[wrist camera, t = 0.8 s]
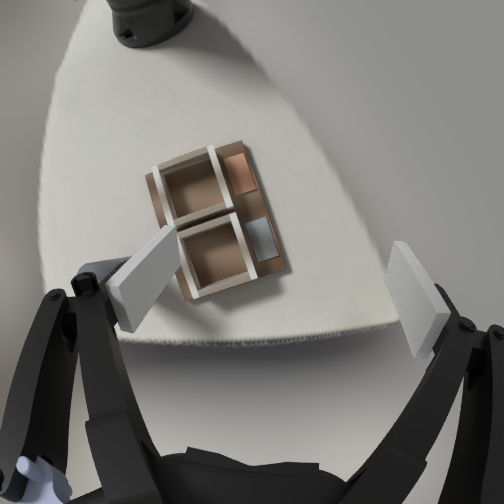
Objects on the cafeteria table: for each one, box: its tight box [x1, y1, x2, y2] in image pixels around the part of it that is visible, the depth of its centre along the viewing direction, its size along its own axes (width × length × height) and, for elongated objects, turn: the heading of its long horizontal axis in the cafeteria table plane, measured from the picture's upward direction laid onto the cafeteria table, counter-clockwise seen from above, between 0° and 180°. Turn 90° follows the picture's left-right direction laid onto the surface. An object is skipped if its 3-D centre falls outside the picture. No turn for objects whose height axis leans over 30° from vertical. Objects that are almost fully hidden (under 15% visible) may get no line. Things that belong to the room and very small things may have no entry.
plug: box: [77, 256, 132, 284], centre depth 30 cm, size 4×4×13 cm
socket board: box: [145, 140, 286, 301], centre depth 34 cm, size 18×14×4 cm
